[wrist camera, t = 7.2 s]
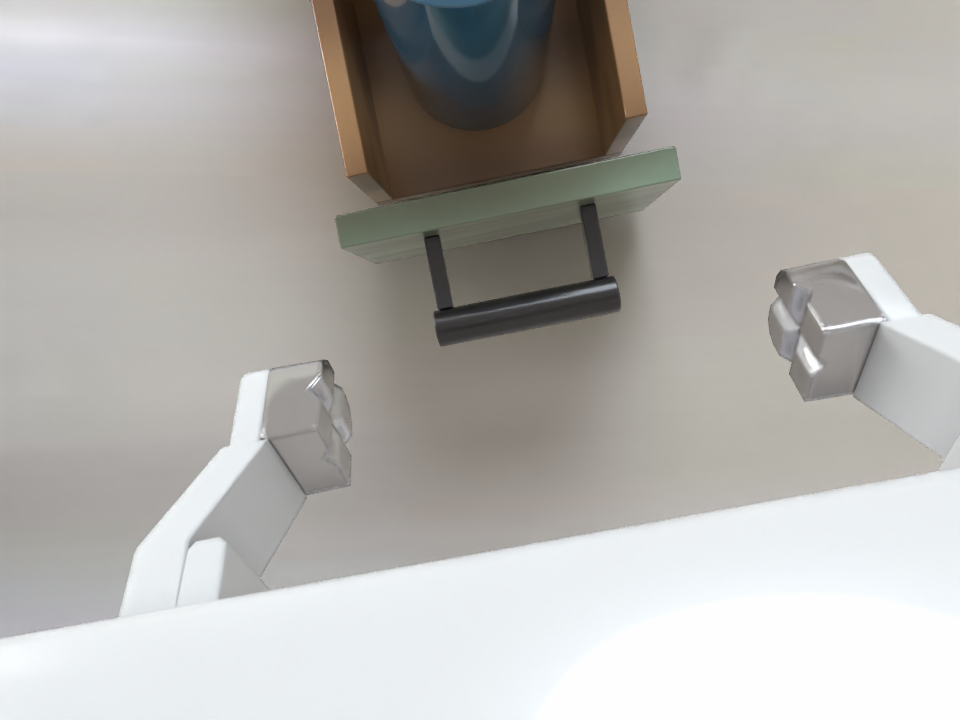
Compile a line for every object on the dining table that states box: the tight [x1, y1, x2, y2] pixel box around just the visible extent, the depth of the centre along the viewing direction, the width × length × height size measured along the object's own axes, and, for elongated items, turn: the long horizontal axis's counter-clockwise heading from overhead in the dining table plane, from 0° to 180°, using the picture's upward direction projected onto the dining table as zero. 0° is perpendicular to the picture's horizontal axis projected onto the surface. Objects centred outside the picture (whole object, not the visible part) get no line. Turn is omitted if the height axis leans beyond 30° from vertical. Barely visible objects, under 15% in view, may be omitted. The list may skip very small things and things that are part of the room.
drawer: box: [311, 0, 681, 347], centre depth 28 cm, size 19×12×7 cm, turn 11°
